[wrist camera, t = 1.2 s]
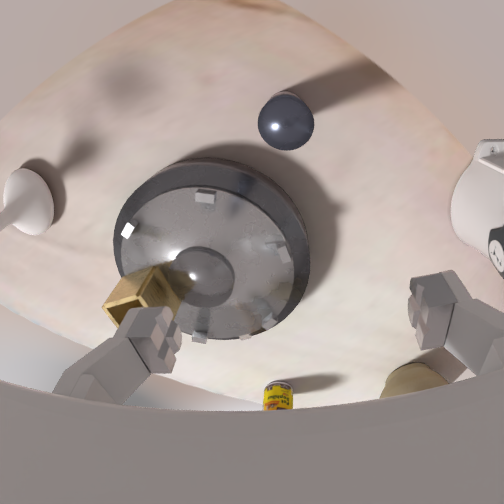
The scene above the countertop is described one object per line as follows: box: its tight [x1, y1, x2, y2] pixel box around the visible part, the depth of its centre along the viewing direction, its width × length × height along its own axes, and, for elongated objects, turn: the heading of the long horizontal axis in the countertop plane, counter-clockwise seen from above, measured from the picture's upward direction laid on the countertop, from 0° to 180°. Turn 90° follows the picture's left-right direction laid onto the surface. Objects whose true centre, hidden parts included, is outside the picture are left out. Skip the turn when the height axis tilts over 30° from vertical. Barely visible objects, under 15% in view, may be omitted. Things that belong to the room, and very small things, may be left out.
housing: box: [113, 158, 310, 340], centre depth 42 cm, size 26×26×4 cm
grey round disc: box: [102, 185, 294, 344], centre depth 37 cm, size 22×22×7 cm
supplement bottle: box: [262, 382, 293, 411], centre depth 54 cm, size 6×6×10 cm
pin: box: [258, 91, 314, 150], centre depth 27 cm, size 4×4×14 cm
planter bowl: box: [380, 363, 449, 399], centre depth 50 cm, size 16×16×11 cm
